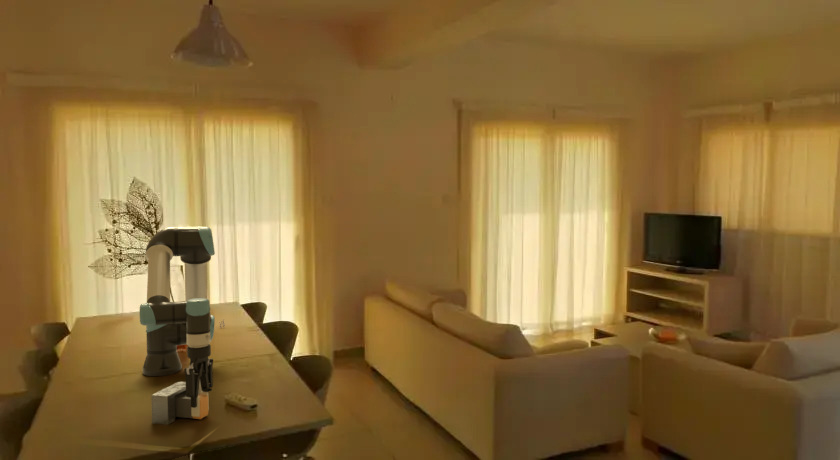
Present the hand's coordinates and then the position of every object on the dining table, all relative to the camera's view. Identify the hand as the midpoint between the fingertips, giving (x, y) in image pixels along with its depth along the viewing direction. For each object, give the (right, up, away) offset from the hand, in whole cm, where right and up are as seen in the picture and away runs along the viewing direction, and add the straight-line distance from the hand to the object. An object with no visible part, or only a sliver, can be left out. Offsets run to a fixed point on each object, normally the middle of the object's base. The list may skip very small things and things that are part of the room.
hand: (200, 413), depth 203 cm
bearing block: (-10, -2, +2) cm, 10 cm away
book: (-31, +4, +117) cm, 121 cm away
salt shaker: (-9, -1, +20) cm, 22 cm away
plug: (-7, -1, +2) cm, 7 cm away
